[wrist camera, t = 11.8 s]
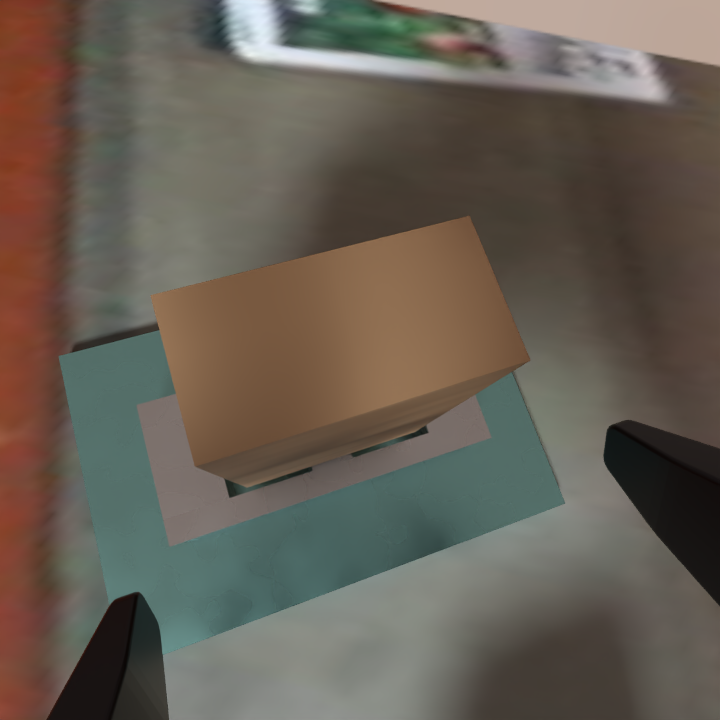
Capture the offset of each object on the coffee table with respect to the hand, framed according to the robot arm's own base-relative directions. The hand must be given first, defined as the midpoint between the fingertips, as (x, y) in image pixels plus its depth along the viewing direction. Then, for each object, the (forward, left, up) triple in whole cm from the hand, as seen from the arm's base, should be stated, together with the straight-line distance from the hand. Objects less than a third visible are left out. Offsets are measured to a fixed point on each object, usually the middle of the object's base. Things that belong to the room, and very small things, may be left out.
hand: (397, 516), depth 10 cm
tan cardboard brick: (+2, +3, -12) cm, 12 cm away
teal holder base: (+2, +3, -13) cm, 13 cm away
